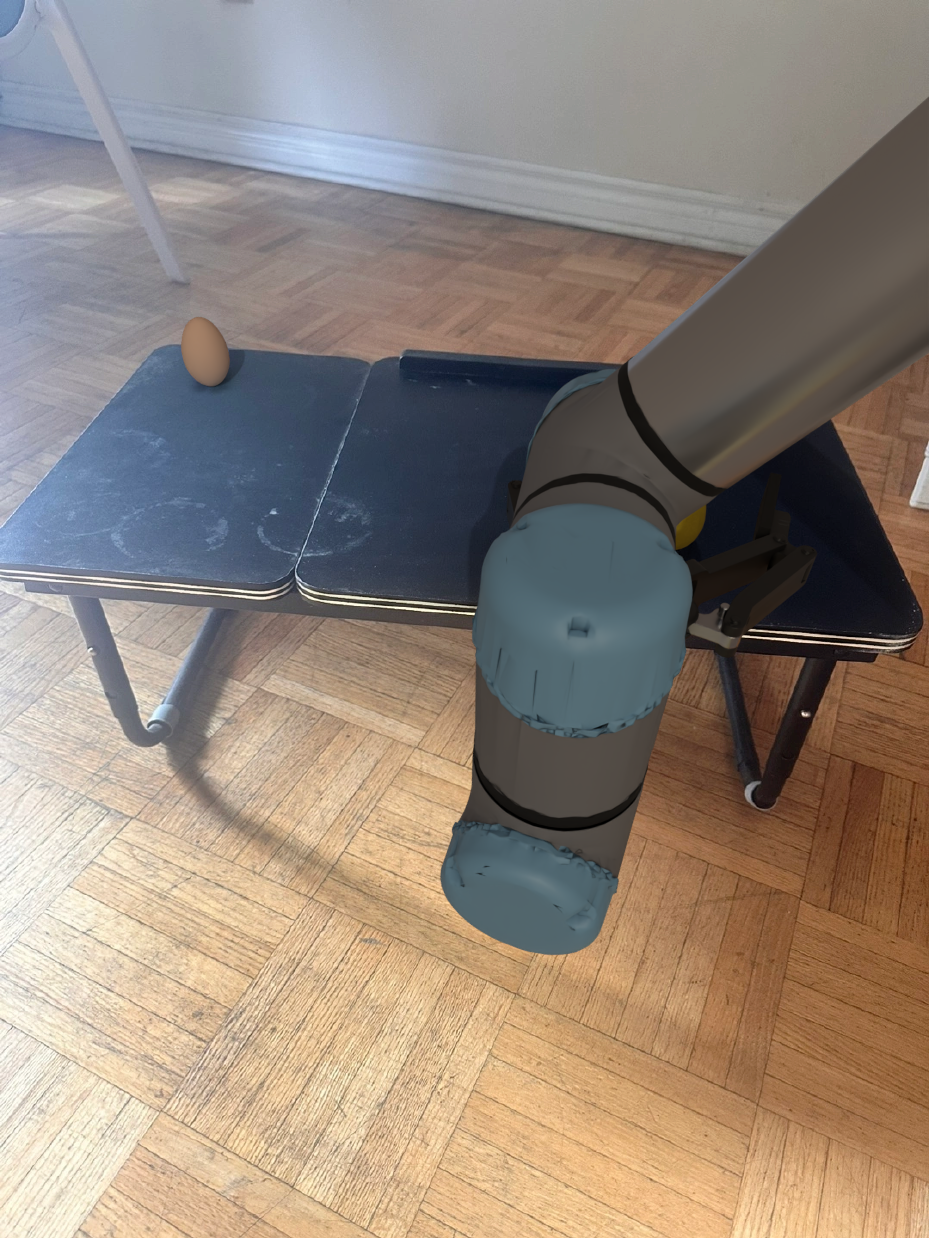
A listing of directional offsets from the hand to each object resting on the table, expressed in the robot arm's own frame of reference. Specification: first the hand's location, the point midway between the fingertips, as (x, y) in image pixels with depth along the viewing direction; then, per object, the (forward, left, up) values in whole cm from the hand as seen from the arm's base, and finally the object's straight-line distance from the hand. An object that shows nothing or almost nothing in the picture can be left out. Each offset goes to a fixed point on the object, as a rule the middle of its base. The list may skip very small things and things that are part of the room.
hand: (674, 468), depth 59 cm
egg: (+61, +2, -15) cm, 62 cm away
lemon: (+4, -9, -15) cm, 18 cm away
